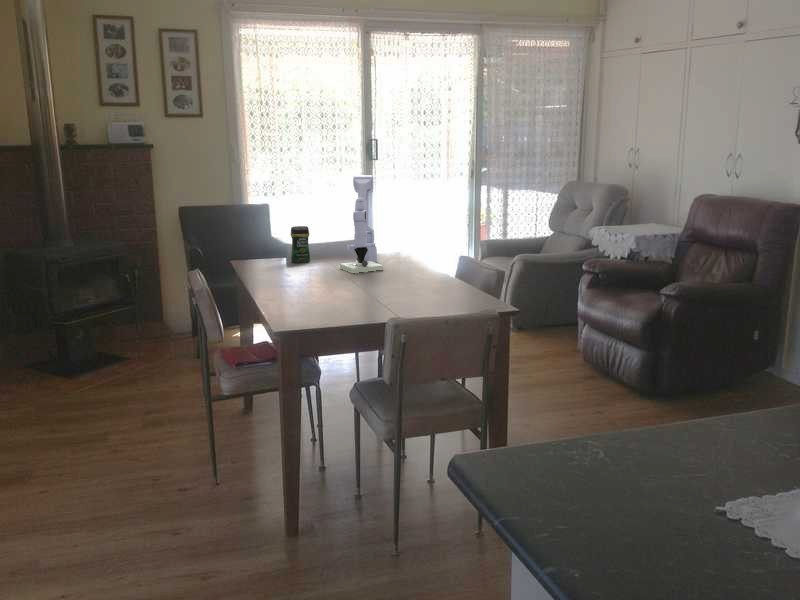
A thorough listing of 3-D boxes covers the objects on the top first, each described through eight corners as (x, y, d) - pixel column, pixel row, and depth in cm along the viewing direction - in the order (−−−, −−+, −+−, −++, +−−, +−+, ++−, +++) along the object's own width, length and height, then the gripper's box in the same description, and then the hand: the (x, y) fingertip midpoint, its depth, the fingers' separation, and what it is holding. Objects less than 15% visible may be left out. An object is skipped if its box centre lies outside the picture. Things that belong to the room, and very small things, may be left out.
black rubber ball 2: (366, 265, 350) (366, 259, 349) (369, 266, 347) (368, 260, 347) (360, 266, 349) (360, 260, 348) (363, 267, 346) (363, 261, 345)
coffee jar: (292, 263, 371) (291, 227, 367) (290, 261, 378) (289, 225, 374) (311, 262, 374) (310, 226, 369) (309, 260, 381) (307, 224, 377)
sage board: (369, 265, 364) (369, 260, 364) (383, 270, 352) (383, 265, 351) (340, 268, 357) (340, 263, 356) (353, 273, 344) (352, 268, 344)
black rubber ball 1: (361, 261, 362) (361, 255, 361) (363, 262, 359) (363, 256, 358) (355, 262, 360) (355, 256, 360) (358, 262, 358) (358, 256, 357)
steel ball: (350, 270, 353) (355, 271, 355) (353, 270, 350) (359, 271, 352) (350, 263, 353) (356, 264, 355) (354, 263, 350) (359, 264, 352)
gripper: (350, 237, 344) (351, 265, 347) (377, 235, 350) (378, 262, 353) (344, 235, 350) (345, 263, 353) (371, 233, 356) (371, 260, 359)
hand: (361, 263), depth 353 cm, fingers closed
